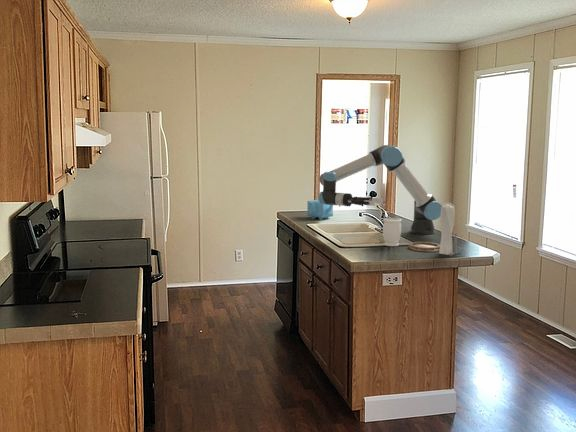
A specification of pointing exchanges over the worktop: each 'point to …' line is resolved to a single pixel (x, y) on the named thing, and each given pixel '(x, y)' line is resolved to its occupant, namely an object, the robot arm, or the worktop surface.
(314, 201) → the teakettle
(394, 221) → the jar
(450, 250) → the skyscraper
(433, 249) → the coaster
